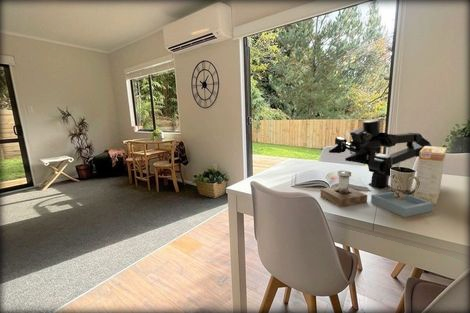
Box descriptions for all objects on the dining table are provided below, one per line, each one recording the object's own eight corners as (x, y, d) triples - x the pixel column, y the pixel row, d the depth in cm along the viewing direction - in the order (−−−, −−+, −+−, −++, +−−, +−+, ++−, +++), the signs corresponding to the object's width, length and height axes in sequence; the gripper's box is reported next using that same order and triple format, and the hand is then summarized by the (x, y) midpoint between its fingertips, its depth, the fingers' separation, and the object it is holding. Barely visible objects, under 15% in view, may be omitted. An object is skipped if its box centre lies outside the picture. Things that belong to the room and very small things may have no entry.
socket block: (343, 191, 98) (344, 185, 98) (366, 202, 87) (367, 195, 86) (320, 195, 95) (320, 188, 94) (341, 207, 84) (341, 199, 83)
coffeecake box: (418, 189, 98) (424, 145, 94) (440, 193, 93) (447, 147, 89) (412, 200, 88) (418, 150, 84) (436, 205, 83) (444, 153, 79)
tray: (396, 197, 91) (397, 190, 90) (432, 211, 78) (433, 203, 78) (370, 202, 87) (371, 194, 86) (404, 217, 75) (405, 208, 74)
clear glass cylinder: (343, 196, 94) (344, 170, 92) (352, 200, 89) (354, 173, 87) (333, 197, 93) (335, 171, 90) (342, 202, 88) (343, 174, 86)
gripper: (350, 122, 101) (322, 130, 97) (389, 133, 85) (357, 144, 81) (348, 145, 106) (321, 154, 102) (385, 160, 90) (354, 171, 86)
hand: (337, 155), depth 93 cm, fingers open, 9 cm apart
